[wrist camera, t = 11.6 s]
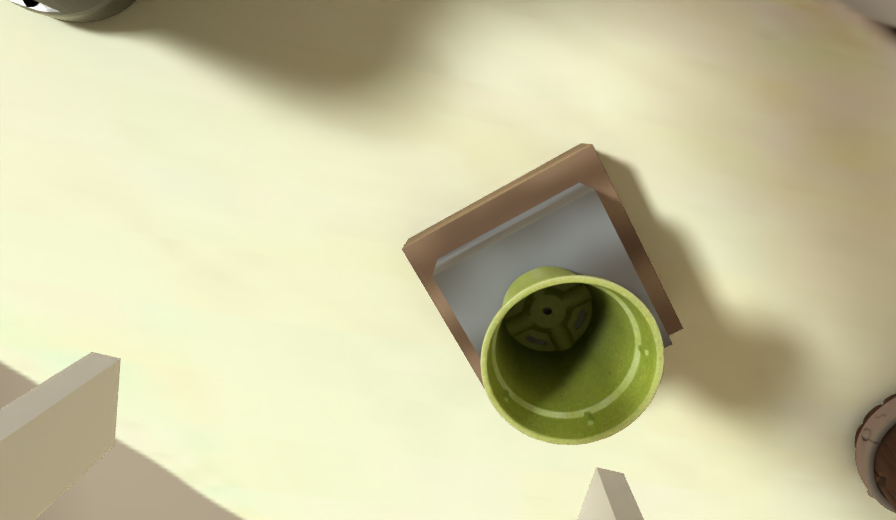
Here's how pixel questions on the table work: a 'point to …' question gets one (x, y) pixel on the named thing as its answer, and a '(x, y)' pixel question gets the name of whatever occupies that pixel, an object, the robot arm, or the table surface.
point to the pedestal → (534, 247)
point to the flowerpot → (878, 453)
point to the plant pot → (571, 357)
